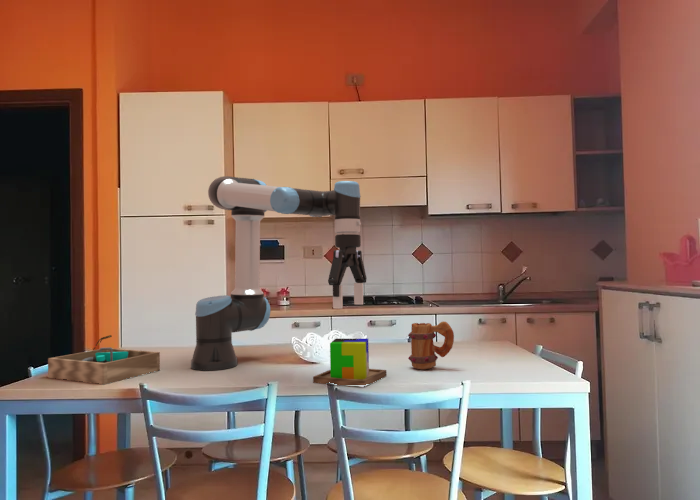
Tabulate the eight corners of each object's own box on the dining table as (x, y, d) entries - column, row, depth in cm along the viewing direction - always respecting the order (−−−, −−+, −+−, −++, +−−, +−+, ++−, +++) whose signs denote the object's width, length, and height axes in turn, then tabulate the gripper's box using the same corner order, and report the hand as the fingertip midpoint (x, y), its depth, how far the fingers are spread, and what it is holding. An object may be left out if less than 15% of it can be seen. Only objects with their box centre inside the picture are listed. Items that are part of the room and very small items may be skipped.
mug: (405, 370, 169) (404, 322, 170) (412, 365, 177) (411, 319, 177) (451, 372, 164) (450, 323, 164) (456, 367, 171) (455, 320, 172)
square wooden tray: (313, 382, 154) (313, 376, 154) (339, 372, 168) (339, 366, 168) (363, 387, 147) (363, 381, 147) (386, 376, 161) (386, 370, 161)
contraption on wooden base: (68, 382, 162) (67, 331, 163) (94, 370, 180) (93, 325, 181) (115, 380, 163) (114, 330, 163) (136, 369, 181) (136, 324, 181)
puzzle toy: (368, 371, 162) (368, 338, 162) (365, 379, 152) (364, 343, 152) (336, 371, 163) (335, 338, 163) (330, 378, 153) (329, 343, 153)
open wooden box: (48, 377, 168) (48, 358, 169) (106, 365, 188) (106, 348, 188) (103, 384, 157) (103, 363, 157) (159, 370, 176) (159, 352, 176)
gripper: (339, 232, 145) (340, 310, 145) (376, 235, 168) (377, 303, 167) (315, 233, 149) (316, 309, 148) (355, 235, 171) (355, 302, 171)
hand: (348, 306), depth 158 cm, fingers open, 13 cm apart
